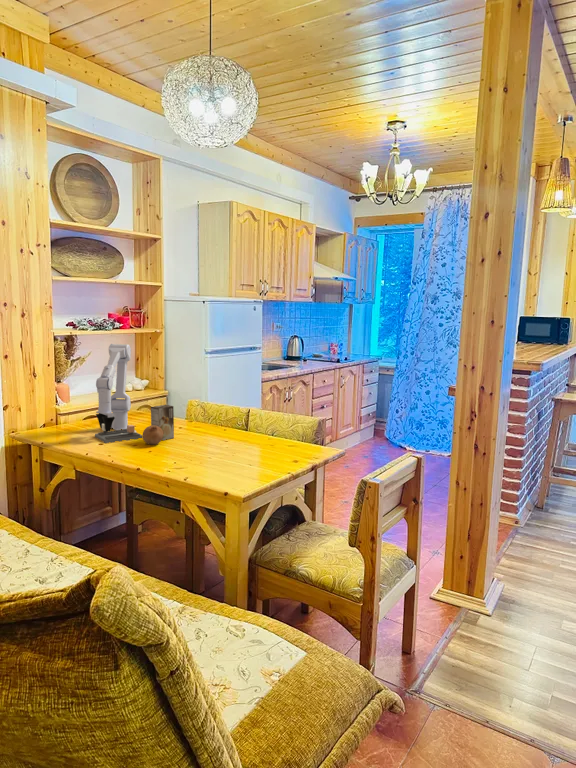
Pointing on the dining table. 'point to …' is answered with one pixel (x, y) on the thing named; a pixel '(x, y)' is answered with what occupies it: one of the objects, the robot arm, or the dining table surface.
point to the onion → (152, 435)
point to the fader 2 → (130, 429)
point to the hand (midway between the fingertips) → (105, 429)
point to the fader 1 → (104, 429)
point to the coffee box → (163, 420)
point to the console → (117, 436)
